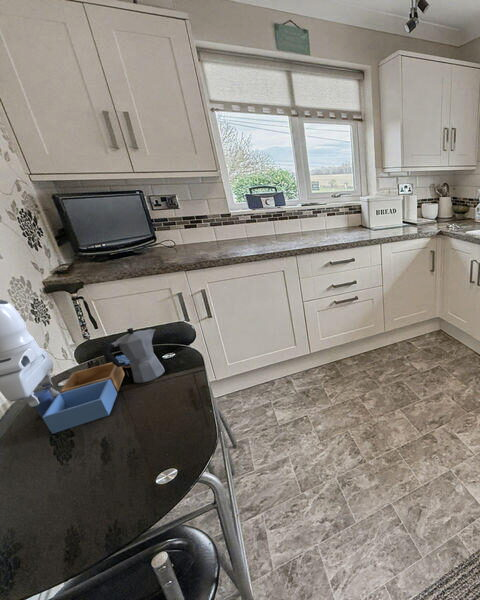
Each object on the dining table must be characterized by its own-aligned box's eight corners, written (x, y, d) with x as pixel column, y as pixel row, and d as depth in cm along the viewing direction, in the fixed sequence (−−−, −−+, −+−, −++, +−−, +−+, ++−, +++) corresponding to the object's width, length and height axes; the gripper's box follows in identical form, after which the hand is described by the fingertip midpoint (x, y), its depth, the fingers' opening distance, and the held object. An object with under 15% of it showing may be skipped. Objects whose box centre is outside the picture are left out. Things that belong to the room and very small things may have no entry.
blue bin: (52, 434, 88) (42, 417, 86) (66, 409, 98) (58, 393, 96) (109, 415, 93) (101, 399, 91) (117, 393, 103) (110, 378, 101)
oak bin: (68, 406, 99) (59, 391, 97) (79, 387, 109) (72, 373, 107) (118, 391, 104) (111, 376, 102) (124, 374, 114) (118, 360, 112)
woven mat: (149, 352, 128) (147, 348, 128) (141, 365, 119) (139, 360, 118) (117, 360, 125) (114, 355, 124) (106, 373, 115) (104, 369, 115)
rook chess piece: (59, 400, 103) (47, 378, 100) (40, 406, 100) (27, 384, 97) (63, 393, 106) (51, 372, 103) (44, 399, 104) (32, 378, 101)
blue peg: (38, 419, 94) (26, 399, 92) (43, 412, 97) (32, 392, 95) (57, 413, 96) (45, 394, 93) (61, 406, 99) (50, 387, 97)
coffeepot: (162, 362, 120) (143, 318, 113) (177, 367, 115) (159, 321, 109) (113, 387, 107) (89, 338, 100) (127, 393, 103) (104, 343, 96)
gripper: (18, 344, 97) (42, 382, 102) (-19, 376, 80) (11, 420, 85) (46, 337, 99) (68, 375, 105) (16, 367, 83) (44, 410, 88)
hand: (42, 395), depth 95 cm, fingers open, 8 cm apart
